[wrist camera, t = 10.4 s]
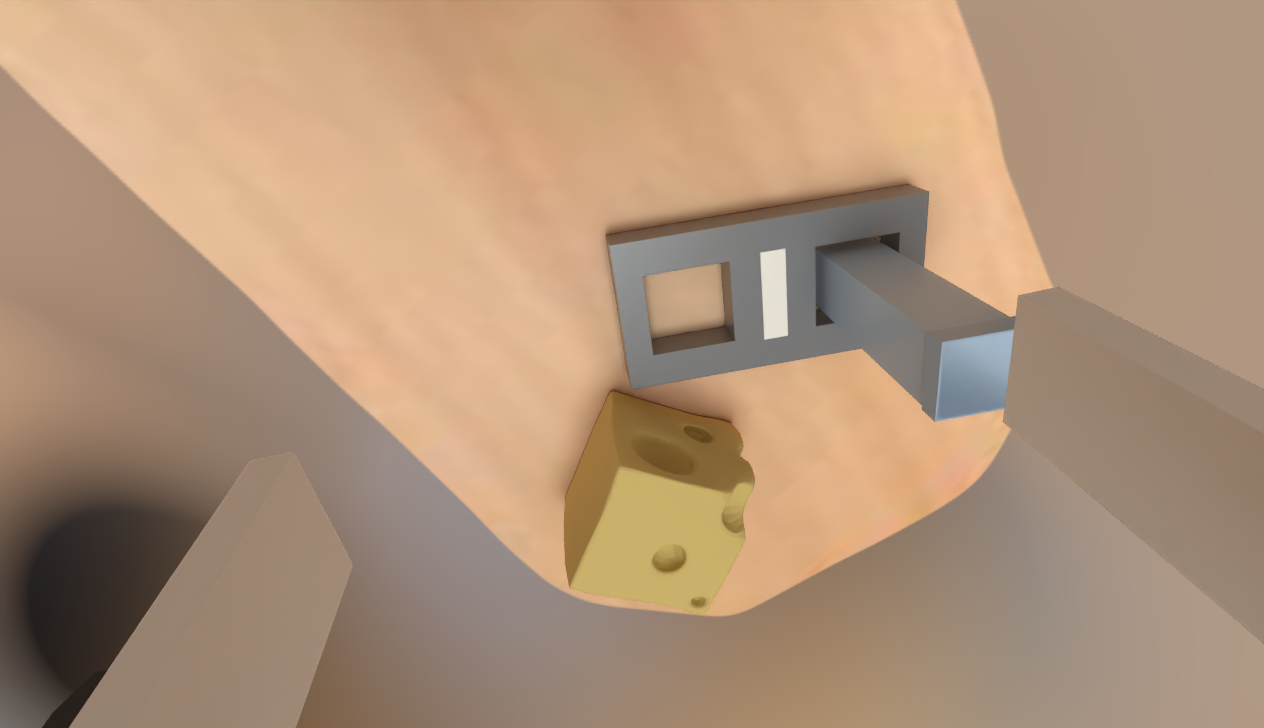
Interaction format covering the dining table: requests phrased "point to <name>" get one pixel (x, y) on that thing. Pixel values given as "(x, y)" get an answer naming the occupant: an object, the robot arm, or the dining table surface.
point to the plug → (917, 327)
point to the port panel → (754, 280)
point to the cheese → (656, 506)
